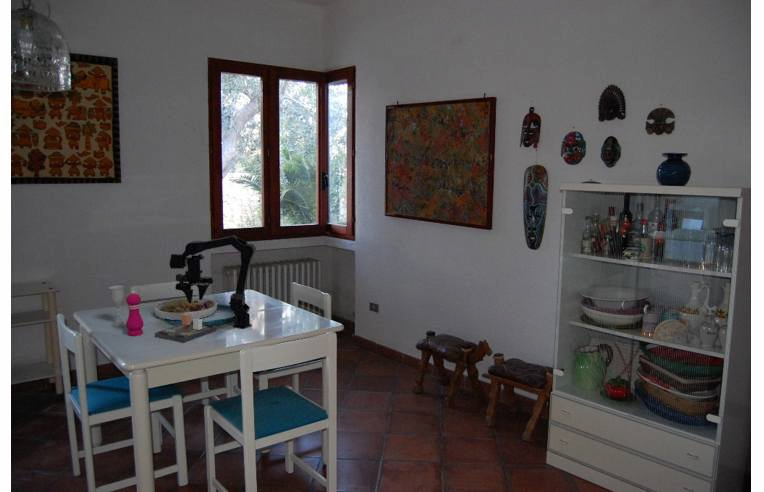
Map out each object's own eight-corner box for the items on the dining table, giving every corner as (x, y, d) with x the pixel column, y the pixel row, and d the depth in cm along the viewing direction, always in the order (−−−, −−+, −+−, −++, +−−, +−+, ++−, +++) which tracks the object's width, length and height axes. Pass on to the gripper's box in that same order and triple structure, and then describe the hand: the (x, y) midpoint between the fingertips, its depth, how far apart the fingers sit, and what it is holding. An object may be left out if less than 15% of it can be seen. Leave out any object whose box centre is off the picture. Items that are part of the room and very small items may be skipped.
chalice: (130, 323, 277) (128, 286, 274) (118, 327, 271) (116, 289, 268) (119, 321, 280) (117, 285, 278) (107, 325, 274) (104, 287, 271)
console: (216, 330, 267) (216, 325, 267) (184, 342, 250) (184, 336, 249) (188, 325, 275) (188, 320, 275) (155, 337, 257) (154, 331, 257)
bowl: (143, 321, 282) (142, 305, 281) (172, 306, 312) (171, 291, 311) (202, 324, 279) (201, 308, 278) (226, 308, 308) (225, 293, 307)
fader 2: (202, 328, 262) (201, 318, 261) (198, 329, 260) (198, 320, 259) (197, 327, 263) (196, 317, 263) (193, 328, 261) (192, 319, 261)
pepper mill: (137, 337, 257) (135, 292, 254) (123, 336, 258) (120, 291, 255) (147, 332, 264) (145, 289, 261) (133, 331, 265) (130, 288, 262)
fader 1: (191, 323, 269) (190, 314, 268) (187, 325, 267) (186, 315, 266) (186, 323, 270) (185, 313, 269) (182, 324, 268) (182, 314, 267)
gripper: (195, 263, 282) (196, 295, 284) (165, 270, 265) (167, 303, 267) (213, 266, 277) (214, 298, 279) (184, 272, 260) (185, 306, 263)
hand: (195, 301), depth 272 cm, fingers open, 7 cm apart
